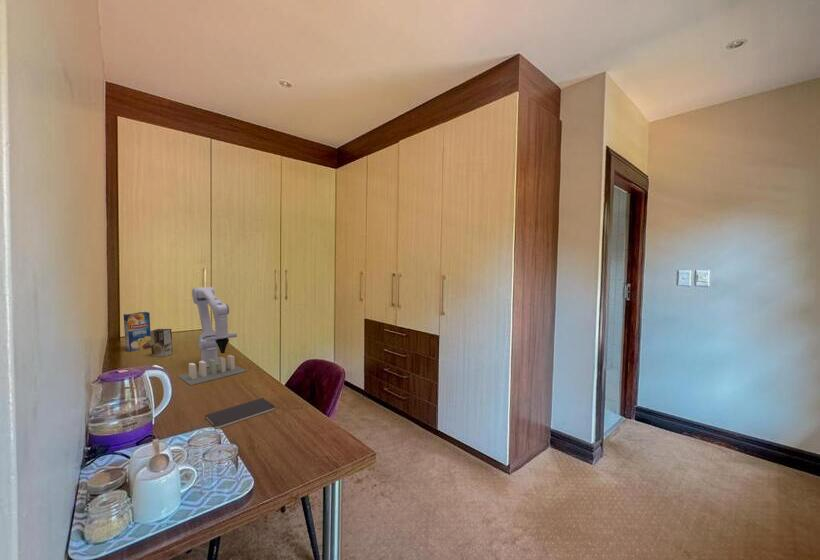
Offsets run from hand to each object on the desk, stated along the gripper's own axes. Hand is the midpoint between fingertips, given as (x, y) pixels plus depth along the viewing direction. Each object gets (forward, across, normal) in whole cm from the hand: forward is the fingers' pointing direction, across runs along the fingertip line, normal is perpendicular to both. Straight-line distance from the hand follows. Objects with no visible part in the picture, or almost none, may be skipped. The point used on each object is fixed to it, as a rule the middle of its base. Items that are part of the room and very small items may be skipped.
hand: (222, 352), depth 177 cm
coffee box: (+10, -13, +63) cm, 65 cm away
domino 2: (+10, -10, 0) cm, 14 cm away
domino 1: (+10, -14, 0) cm, 17 cm away
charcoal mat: (+10, -5, 0) cm, 11 cm away
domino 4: (+10, +4, 0) cm, 10 cm away
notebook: (+11, -14, -58) cm, 61 cm away
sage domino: (+10, -5, 0) cm, 11 cm away
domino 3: (+10, -1, 0) cm, 10 cm away
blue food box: (+10, -20, +94) cm, 96 cm away
